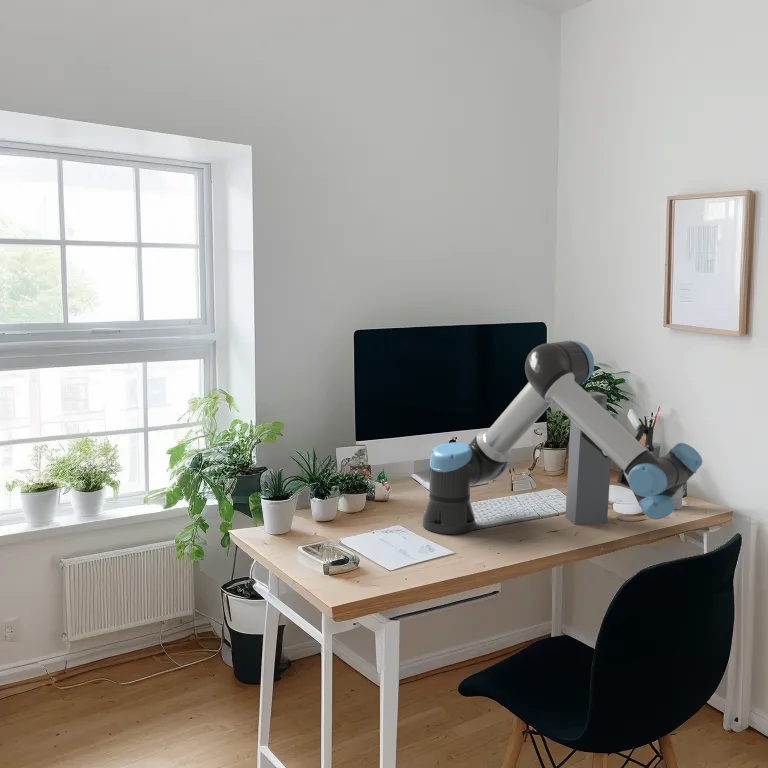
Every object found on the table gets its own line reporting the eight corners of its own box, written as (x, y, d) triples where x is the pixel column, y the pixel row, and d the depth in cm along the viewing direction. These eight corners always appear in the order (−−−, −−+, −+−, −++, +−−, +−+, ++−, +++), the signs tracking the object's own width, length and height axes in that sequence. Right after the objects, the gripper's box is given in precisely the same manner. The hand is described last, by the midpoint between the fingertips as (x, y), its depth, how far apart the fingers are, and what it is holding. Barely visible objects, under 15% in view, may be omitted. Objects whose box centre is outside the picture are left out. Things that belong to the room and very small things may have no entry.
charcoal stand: (575, 524, 228) (581, 417, 223) (565, 516, 235) (571, 412, 230) (607, 522, 230) (613, 416, 225) (596, 515, 237) (602, 411, 232)
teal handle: (601, 423, 215) (603, 402, 214) (577, 412, 230) (578, 392, 229) (622, 423, 216) (623, 401, 215) (596, 411, 231) (597, 391, 231)
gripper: (587, 478, 203) (561, 423, 219) (676, 475, 207) (644, 421, 223) (595, 458, 198) (568, 403, 214) (685, 455, 202) (652, 401, 218)
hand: (607, 412), depth 219 cm, fingers open, 13 cm apart
